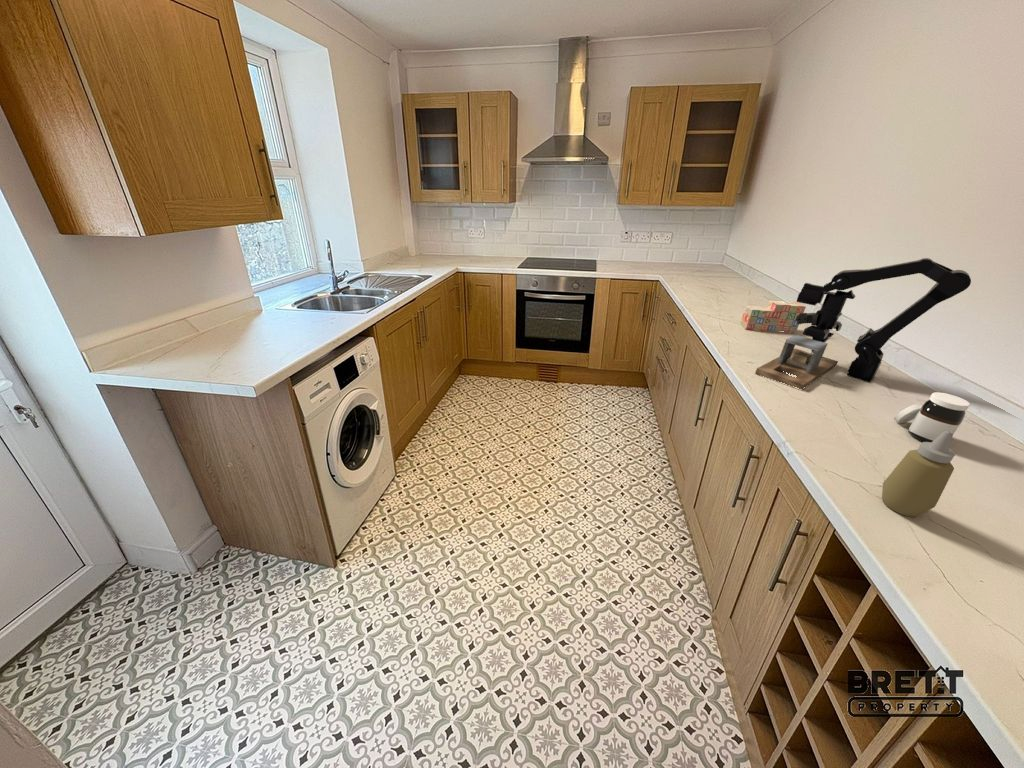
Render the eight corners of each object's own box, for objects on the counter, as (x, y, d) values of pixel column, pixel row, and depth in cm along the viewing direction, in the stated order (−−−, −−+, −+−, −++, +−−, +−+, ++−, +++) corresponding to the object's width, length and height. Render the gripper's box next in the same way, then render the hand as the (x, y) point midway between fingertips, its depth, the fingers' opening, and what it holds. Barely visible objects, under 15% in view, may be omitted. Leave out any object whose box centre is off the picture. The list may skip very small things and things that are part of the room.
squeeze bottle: (901, 492, 85) (947, 420, 76) (938, 522, 78) (994, 446, 69) (864, 492, 84) (907, 420, 76) (898, 522, 77) (949, 445, 69)
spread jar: (943, 452, 99) (970, 411, 94) (885, 431, 107) (907, 392, 101) (950, 435, 106) (975, 397, 100) (895, 416, 113) (916, 380, 108)
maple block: (807, 365, 138) (811, 354, 136) (802, 368, 136) (807, 357, 134) (794, 361, 141) (798, 351, 139) (789, 364, 139) (794, 353, 137)
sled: (825, 357, 145) (831, 342, 142) (806, 369, 135) (812, 353, 132) (805, 351, 149) (812, 337, 147) (786, 362, 139) (792, 347, 136)
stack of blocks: (745, 330, 176) (754, 302, 170) (739, 325, 182) (747, 298, 176) (795, 333, 175) (806, 306, 169) (788, 328, 180) (798, 301, 175)
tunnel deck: (835, 366, 144) (849, 337, 139) (801, 390, 126) (814, 358, 121) (793, 353, 154) (804, 325, 148) (754, 373, 135) (765, 343, 130)
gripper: (814, 299, 147) (798, 339, 155) (794, 306, 137) (778, 349, 144) (850, 307, 140) (832, 348, 147) (833, 315, 129) (814, 360, 136)
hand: (813, 351), depth 144 cm, fingers closed
